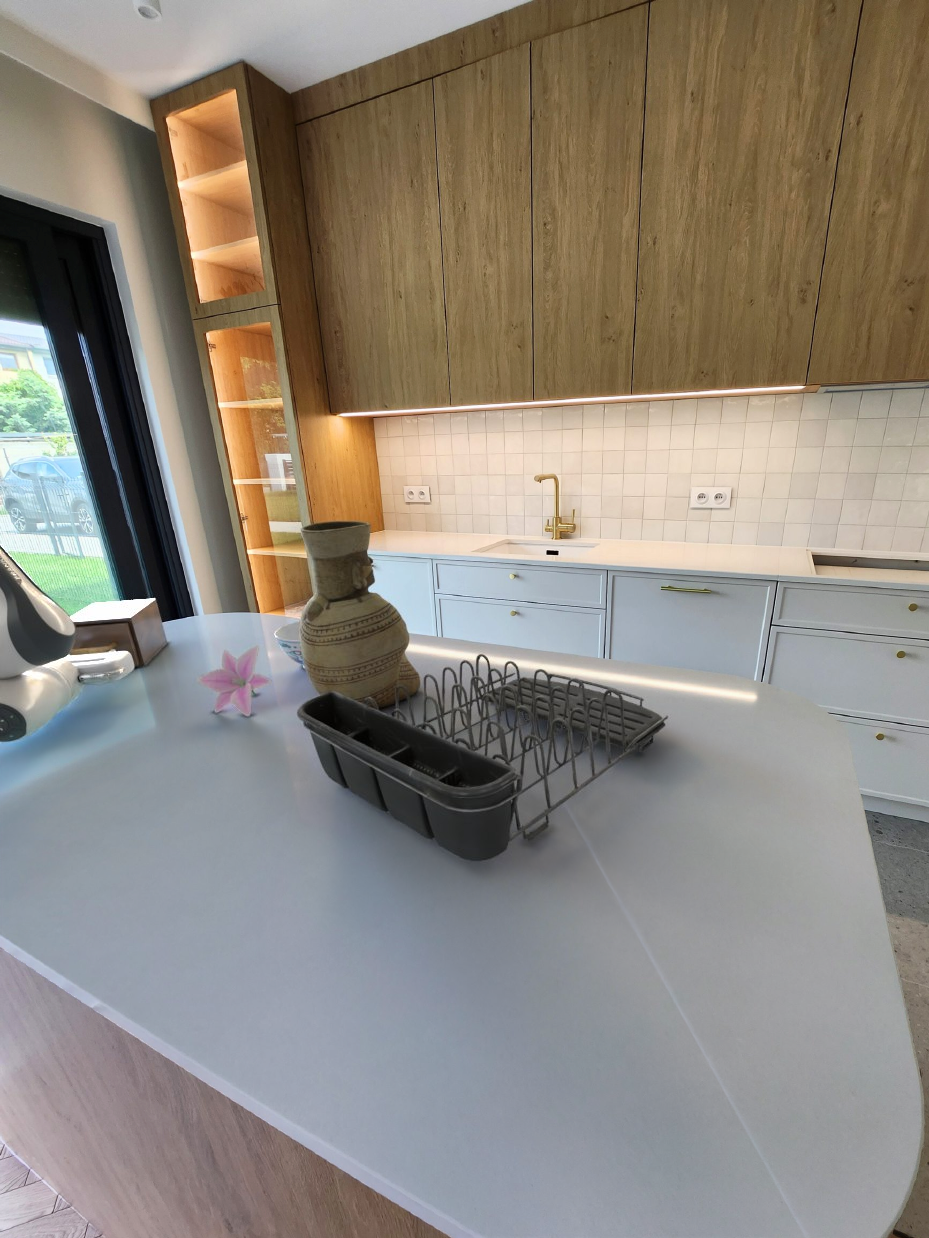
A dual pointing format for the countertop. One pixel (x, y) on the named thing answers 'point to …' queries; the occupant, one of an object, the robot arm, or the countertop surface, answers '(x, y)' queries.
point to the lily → (235, 681)
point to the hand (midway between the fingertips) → (84, 655)
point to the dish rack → (468, 753)
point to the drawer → (104, 639)
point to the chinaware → (290, 641)
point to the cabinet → (130, 623)
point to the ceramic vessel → (352, 621)
